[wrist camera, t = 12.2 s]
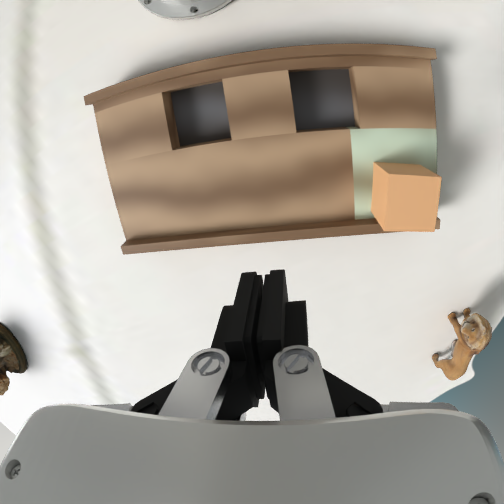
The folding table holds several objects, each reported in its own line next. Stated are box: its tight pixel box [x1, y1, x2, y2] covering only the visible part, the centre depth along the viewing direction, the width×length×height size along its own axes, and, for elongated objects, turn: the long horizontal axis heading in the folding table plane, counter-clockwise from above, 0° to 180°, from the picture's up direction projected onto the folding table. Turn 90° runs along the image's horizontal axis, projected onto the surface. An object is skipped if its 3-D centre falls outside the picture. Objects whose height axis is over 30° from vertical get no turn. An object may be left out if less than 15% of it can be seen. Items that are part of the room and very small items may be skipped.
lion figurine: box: [432, 308, 492, 380], centre depth 35 cm, size 15×5×9 cm, turn 10°
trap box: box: [84, 44, 440, 255], centre depth 29 cm, size 18×34×4 cm, turn 98°
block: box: [371, 162, 442, 232], centre depth 26 cm, size 5×5×5 cm
